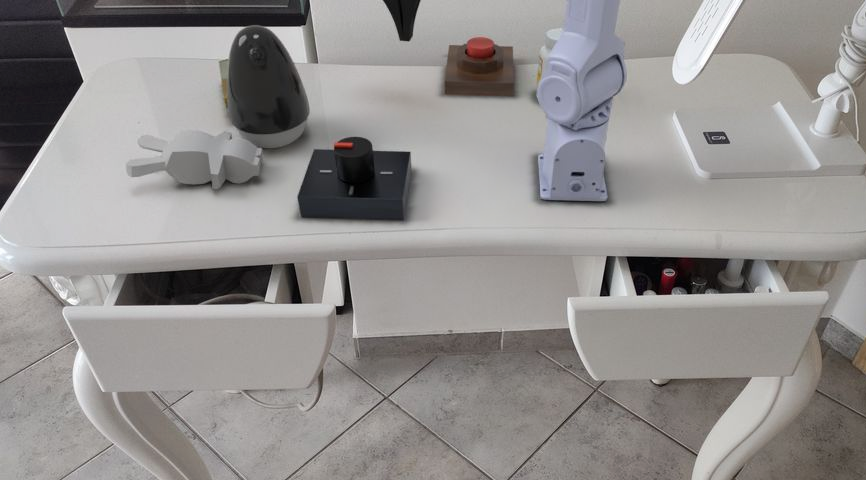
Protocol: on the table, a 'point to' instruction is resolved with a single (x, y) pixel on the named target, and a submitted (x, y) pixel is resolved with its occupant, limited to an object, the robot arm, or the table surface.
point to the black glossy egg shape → (265, 90)
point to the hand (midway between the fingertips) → (406, 38)
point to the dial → (354, 159)
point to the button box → (479, 72)
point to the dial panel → (356, 188)
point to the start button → (480, 48)
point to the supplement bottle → (547, 51)
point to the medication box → (224, 78)
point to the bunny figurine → (199, 158)
